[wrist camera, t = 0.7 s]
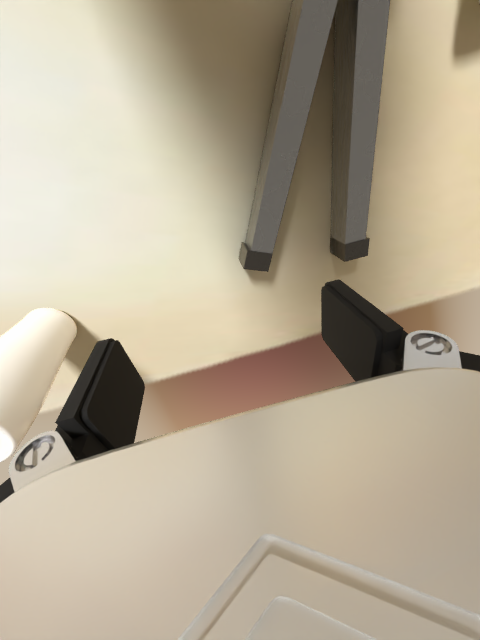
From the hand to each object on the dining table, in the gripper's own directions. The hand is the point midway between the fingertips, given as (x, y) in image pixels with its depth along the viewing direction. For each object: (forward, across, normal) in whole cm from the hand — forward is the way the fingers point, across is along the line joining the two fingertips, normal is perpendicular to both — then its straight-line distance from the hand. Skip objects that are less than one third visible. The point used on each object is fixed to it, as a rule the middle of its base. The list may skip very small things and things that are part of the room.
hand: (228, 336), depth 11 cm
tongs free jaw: (+19, -8, -6) cm, 21 cm away
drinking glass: (+19, +20, +6) cm, 29 cm away
